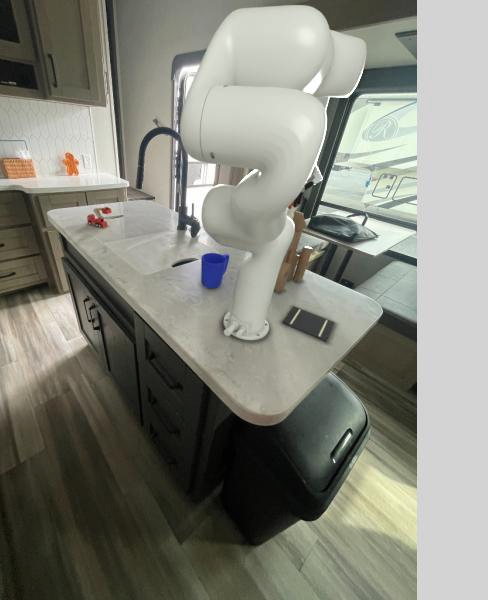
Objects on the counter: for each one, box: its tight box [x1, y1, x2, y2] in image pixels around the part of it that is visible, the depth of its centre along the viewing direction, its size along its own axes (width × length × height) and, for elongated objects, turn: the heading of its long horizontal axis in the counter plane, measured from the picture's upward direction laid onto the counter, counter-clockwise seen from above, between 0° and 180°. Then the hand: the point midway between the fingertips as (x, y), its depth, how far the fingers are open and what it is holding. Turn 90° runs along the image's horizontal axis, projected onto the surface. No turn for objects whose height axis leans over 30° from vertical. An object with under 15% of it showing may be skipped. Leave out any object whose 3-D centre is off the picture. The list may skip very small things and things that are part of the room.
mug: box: [200, 252, 230, 289], centre depth 90 cm, size 8×12×10 cm
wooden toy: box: [273, 210, 313, 293], centre depth 89 cm, size 16×7×25 cm, turn 129°
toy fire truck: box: [86, 206, 112, 228], centre depth 128 cm, size 3×14×10 cm, turn 64°
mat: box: [282, 306, 335, 342], centre depth 78 cm, size 10×12×1 cm
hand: (284, 203), depth 73 cm, fingers closed on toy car, 5 cm apart
